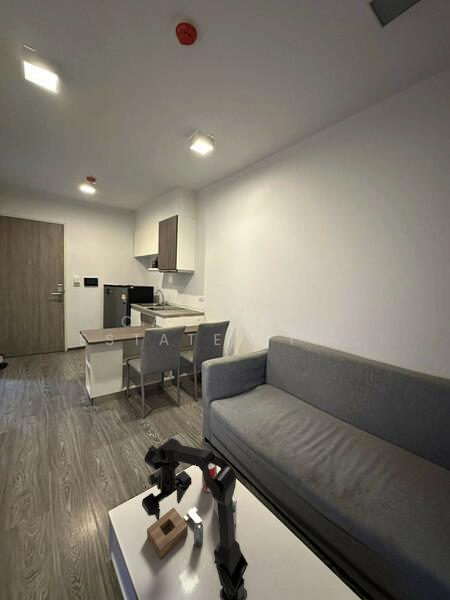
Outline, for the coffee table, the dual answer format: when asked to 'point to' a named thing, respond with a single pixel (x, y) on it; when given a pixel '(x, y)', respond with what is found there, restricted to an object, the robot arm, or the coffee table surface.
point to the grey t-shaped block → (192, 516)
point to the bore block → (169, 541)
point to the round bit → (198, 535)
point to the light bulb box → (233, 507)
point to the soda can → (213, 473)
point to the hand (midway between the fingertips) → (168, 510)
